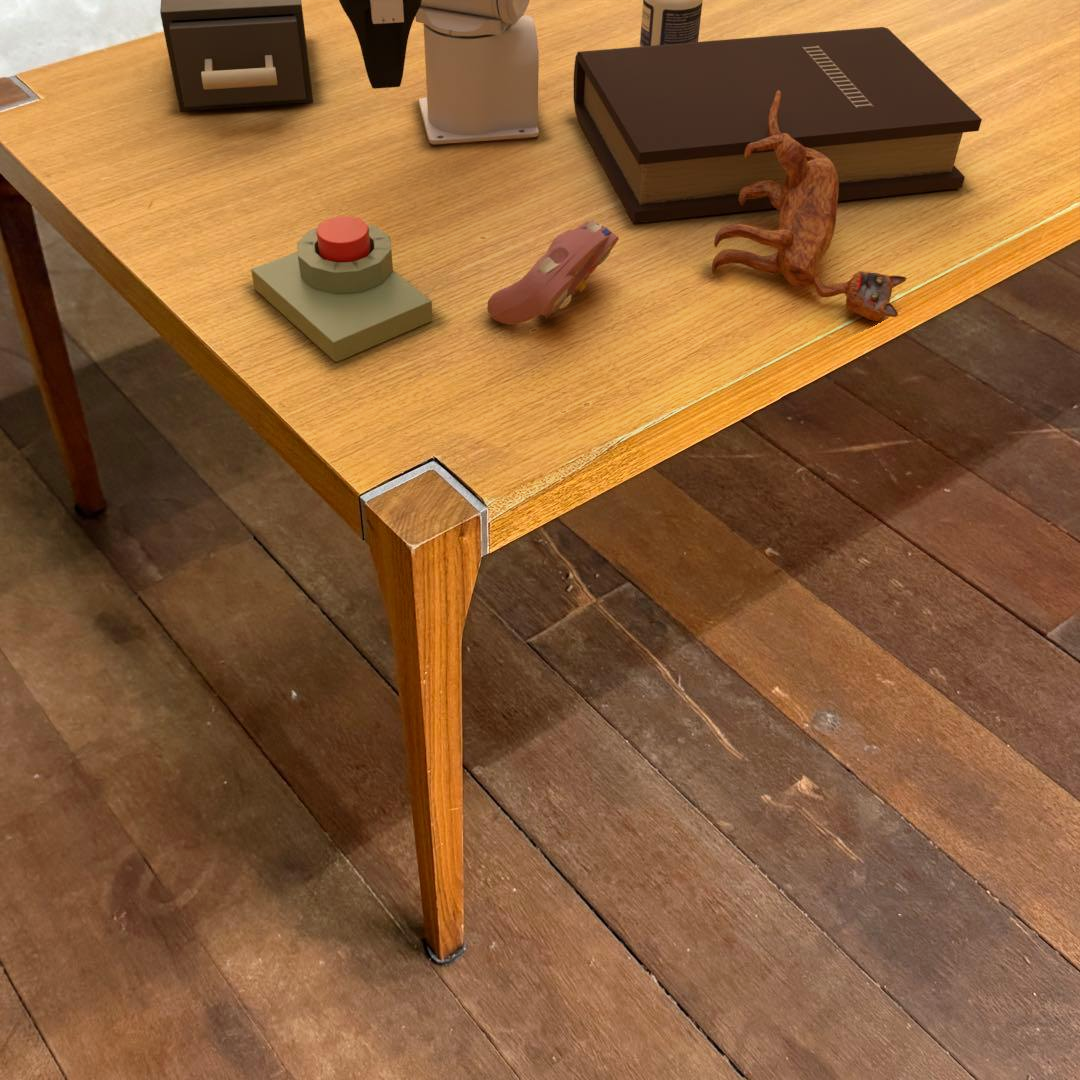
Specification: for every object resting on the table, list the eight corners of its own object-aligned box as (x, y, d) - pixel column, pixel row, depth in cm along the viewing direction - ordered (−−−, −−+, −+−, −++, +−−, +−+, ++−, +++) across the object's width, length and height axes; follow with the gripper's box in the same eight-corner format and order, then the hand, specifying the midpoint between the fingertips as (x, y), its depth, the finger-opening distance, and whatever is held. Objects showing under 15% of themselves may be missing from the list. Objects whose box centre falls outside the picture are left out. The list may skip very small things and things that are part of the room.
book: (864, 83, 112) (878, 18, 108) (961, 187, 99) (981, 119, 95) (572, 109, 107) (575, 43, 103) (633, 223, 94) (639, 152, 90)
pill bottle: (705, 64, 115) (718, -43, 108) (678, 85, 112) (690, -24, 105) (655, 50, 117) (664, -56, 110) (627, 70, 114) (635, -38, 107)
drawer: (308, 121, 103) (299, 42, 99) (184, 130, 102) (168, 50, 97) (299, 44, 114) (290, -31, 109) (186, 50, 113) (172, -25, 108)
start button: (309, 248, 86) (306, 226, 84) (352, 231, 87) (350, 209, 86) (336, 270, 84) (334, 248, 82) (380, 253, 85) (378, 231, 84)
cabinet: (313, 102, 108) (301, 4, 102) (179, 111, 106) (159, 12, 100) (305, 43, 116) (294, -51, 110) (182, 50, 115) (163, -45, 109)
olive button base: (254, 289, 87) (246, 246, 85) (356, 249, 91) (352, 207, 89) (335, 363, 81) (330, 319, 79) (441, 317, 85) (439, 274, 83)
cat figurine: (767, 56, 90) (953, 91, 88) (759, 117, 96) (932, 151, 94) (707, 256, 84) (904, 299, 82) (702, 307, 90) (885, 348, 88)
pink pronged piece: (526, 356, 85) (567, 295, 79) (477, 313, 85) (515, 249, 79) (596, 290, 91) (640, 229, 85) (551, 249, 91) (591, 185, 85)
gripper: (301, -154, 82) (323, 44, 92) (314, -79, 72) (337, 134, 82) (405, -158, 83) (415, 39, 93) (431, -84, 73) (440, 127, 83)
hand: (385, 83), depth 88 cm, fingers closed
